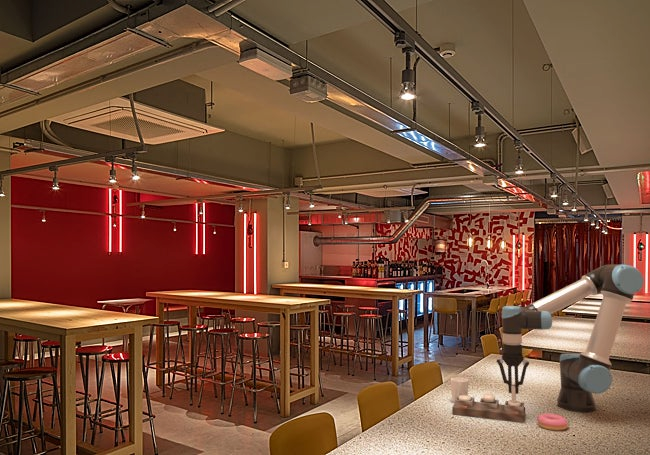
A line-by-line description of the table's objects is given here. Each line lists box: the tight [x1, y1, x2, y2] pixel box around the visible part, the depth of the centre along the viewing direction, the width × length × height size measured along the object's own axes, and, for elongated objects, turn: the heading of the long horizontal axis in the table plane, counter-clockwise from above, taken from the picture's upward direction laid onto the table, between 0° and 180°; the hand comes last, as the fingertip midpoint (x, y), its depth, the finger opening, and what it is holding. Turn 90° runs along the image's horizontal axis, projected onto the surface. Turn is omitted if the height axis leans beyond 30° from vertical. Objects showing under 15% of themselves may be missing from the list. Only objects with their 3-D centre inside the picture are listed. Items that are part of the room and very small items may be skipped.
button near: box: [507, 399, 521, 407], centre depth 200 cm, size 5×5×2 cm
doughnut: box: [536, 413, 569, 431], centre depth 188 cm, size 11×11×4 cm
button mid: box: [482, 393, 496, 402], centre depth 205 cm, size 5×5×2 cm
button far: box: [459, 395, 472, 401], centre depth 208 cm, size 5×5×2 cm
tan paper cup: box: [450, 376, 469, 403], centre depth 222 cm, size 8×8×10 cm
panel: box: [451, 396, 527, 424], centre depth 203 cm, size 28×12×5 cm, turn 66°
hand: (513, 401), depth 200 cm, fingers closed
